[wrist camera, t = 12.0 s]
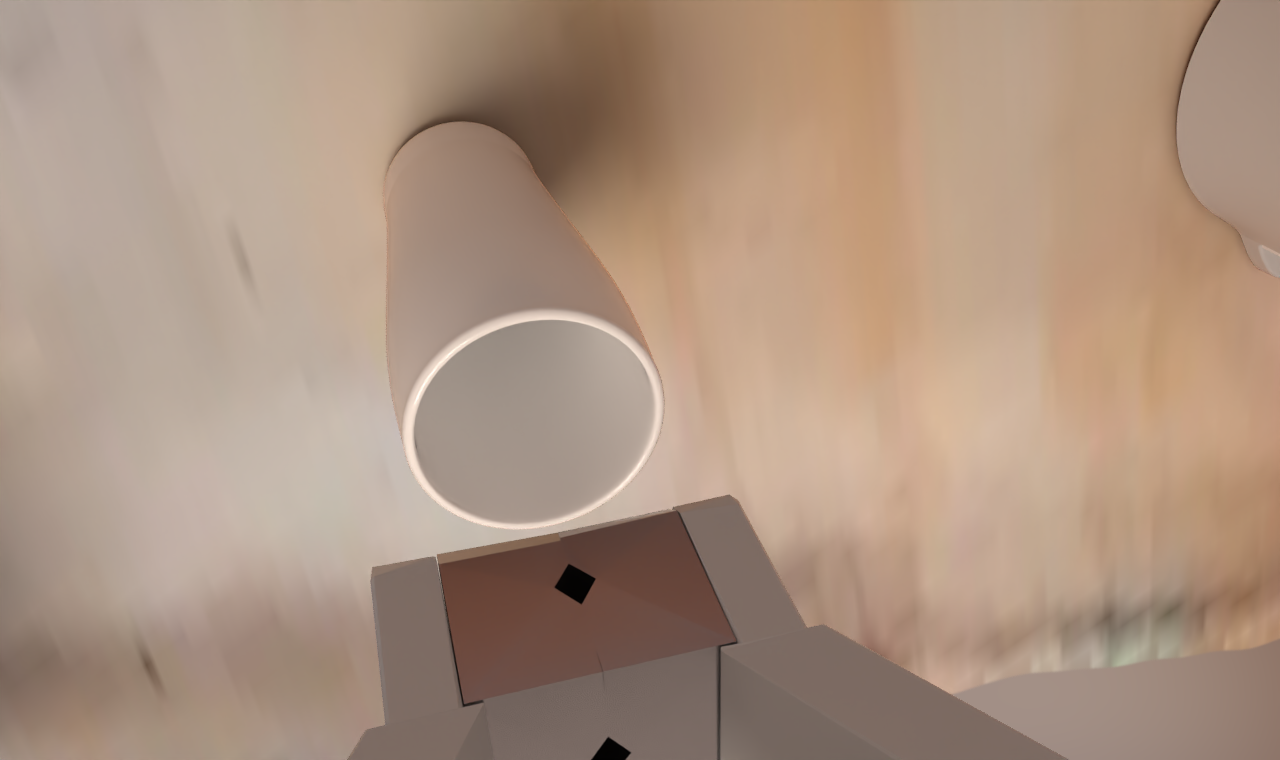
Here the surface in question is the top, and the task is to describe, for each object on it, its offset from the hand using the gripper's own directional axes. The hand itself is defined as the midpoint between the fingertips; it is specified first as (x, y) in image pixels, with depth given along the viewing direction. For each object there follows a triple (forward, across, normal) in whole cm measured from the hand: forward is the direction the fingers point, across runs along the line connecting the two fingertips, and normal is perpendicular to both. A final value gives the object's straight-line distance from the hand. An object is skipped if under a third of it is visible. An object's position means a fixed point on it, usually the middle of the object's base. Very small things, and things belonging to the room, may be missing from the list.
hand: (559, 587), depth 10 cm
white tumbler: (+31, -2, +10) cm, 33 cm away
